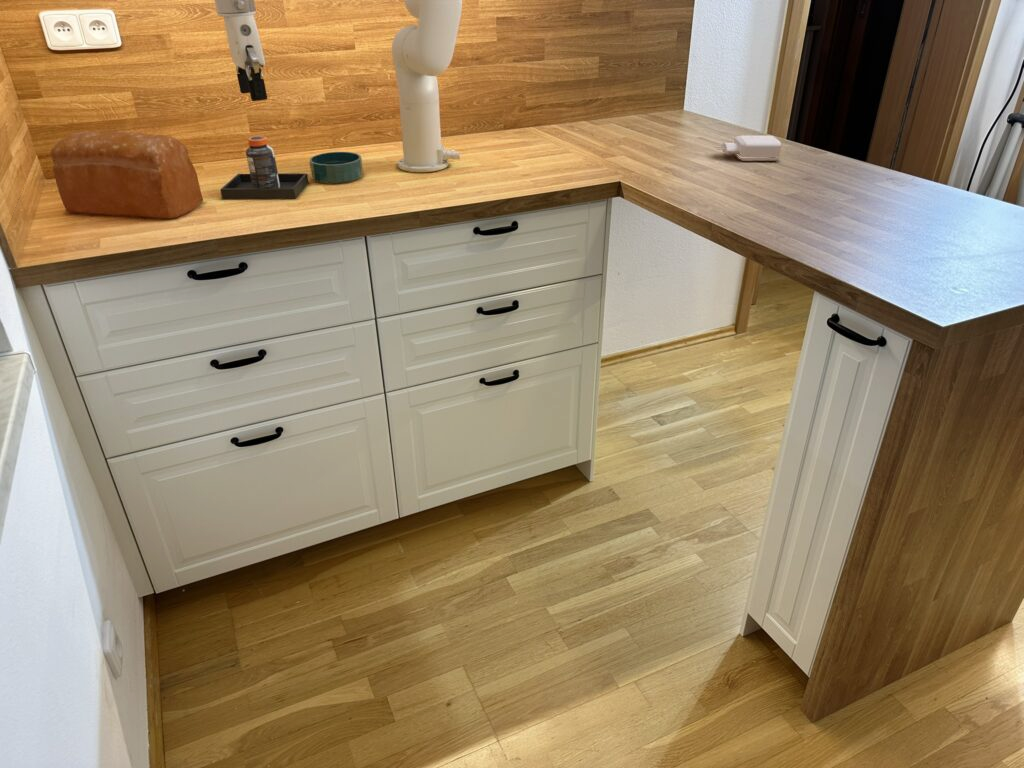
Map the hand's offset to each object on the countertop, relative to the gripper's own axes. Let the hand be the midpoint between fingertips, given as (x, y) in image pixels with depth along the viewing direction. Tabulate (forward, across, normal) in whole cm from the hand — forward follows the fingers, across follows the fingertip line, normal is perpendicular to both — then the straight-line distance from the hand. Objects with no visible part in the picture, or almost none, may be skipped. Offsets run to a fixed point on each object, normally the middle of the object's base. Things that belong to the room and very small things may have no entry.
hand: (253, 96), depth 156 cm
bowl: (+20, +2, -16) cm, 26 cm away
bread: (+20, +2, +29) cm, 35 cm away
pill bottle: (+20, 0, +1) cm, 20 cm away
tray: (+20, 0, +2) cm, 20 cm away
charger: (+23, -35, -112) cm, 120 cm away
